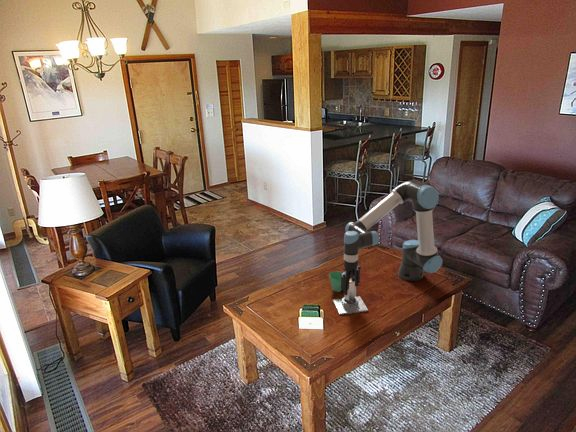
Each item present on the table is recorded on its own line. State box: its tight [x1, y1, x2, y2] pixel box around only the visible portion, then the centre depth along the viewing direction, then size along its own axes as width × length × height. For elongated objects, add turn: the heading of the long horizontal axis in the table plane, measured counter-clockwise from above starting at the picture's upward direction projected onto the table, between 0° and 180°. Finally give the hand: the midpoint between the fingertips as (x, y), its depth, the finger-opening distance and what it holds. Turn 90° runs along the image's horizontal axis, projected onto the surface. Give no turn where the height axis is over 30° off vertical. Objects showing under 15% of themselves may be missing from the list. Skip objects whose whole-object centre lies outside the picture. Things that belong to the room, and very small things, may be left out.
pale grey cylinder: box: [346, 278, 355, 303], centre depth 220 cm, size 5×5×12 cm
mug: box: [328, 270, 344, 293], centre depth 239 cm, size 15×10×10 cm
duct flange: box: [332, 295, 369, 316], centre depth 223 cm, size 16×14×4 cm
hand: (350, 297), depth 221 cm, fingers closed on pale grey cylinder, 5 cm apart
